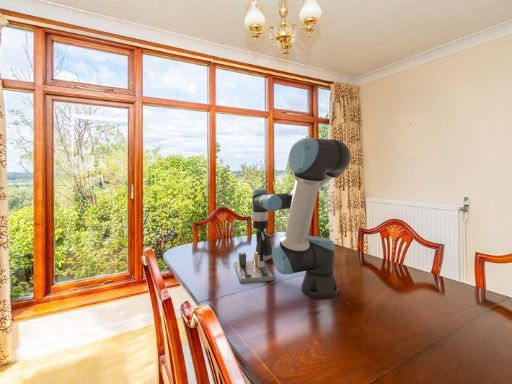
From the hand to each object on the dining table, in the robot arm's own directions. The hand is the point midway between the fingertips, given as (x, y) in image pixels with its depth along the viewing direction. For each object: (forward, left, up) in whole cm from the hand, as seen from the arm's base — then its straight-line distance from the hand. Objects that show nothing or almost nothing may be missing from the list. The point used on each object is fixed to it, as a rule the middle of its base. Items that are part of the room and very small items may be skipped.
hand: (261, 266), depth 141 cm
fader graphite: (+9, +8, -1) cm, 12 cm away
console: (+2, +4, -4) cm, 6 cm away
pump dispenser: (+22, -7, -4) cm, 23 cm away
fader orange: (+8, 0, -1) cm, 8 cm away
